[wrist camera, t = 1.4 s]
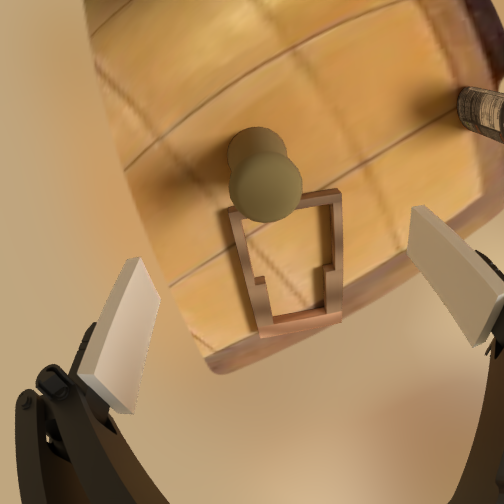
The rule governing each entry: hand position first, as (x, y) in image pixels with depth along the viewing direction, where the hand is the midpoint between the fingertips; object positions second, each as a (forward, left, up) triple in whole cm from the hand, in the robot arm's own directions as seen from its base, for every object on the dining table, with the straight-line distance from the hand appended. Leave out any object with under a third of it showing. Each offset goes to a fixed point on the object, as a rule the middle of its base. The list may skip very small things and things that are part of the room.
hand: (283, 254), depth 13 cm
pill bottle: (-4, +28, -18) cm, 33 cm away
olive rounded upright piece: (0, 0, -18) cm, 18 cm away
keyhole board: (+15, +2, -18) cm, 23 cm away
